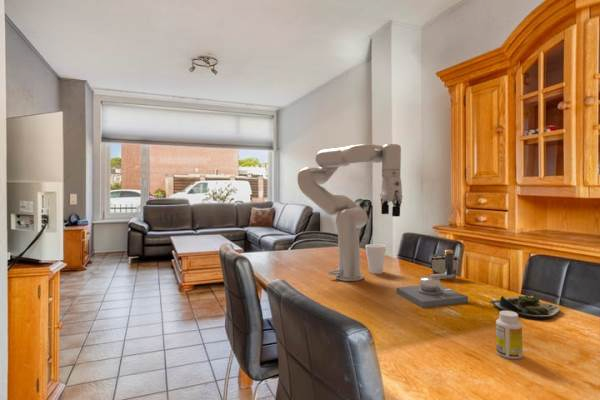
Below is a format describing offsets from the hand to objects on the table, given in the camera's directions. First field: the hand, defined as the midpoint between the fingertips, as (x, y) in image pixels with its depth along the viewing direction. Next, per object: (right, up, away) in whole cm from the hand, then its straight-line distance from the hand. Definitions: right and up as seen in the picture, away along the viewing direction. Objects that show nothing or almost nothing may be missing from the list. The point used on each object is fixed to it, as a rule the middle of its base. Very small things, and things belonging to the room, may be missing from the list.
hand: (390, 215), depth 150 cm
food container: (+26, -29, +11) cm, 41 cm away
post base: (+11, -30, -17) cm, 36 cm away
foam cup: (-1, -29, +23) cm, 37 cm away
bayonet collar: (+13, -27, -17) cm, 34 cm away
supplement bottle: (+13, -32, -63) cm, 71 cm away
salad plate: (+36, -30, -33) cm, 57 cm away
